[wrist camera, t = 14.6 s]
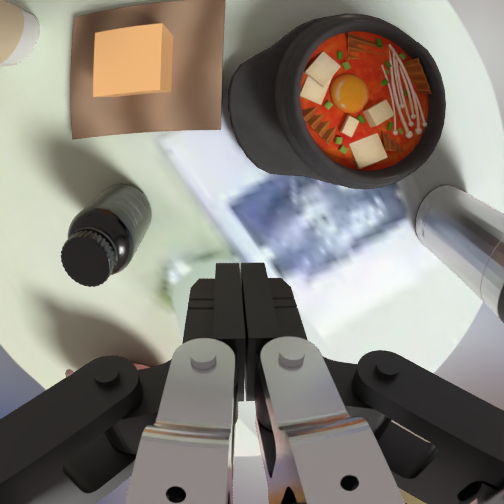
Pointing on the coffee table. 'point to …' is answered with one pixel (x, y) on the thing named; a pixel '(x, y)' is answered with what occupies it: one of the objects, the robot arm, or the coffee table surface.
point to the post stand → (183, 71)
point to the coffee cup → (16, 33)
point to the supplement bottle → (106, 235)
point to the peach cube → (132, 61)
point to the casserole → (340, 103)
